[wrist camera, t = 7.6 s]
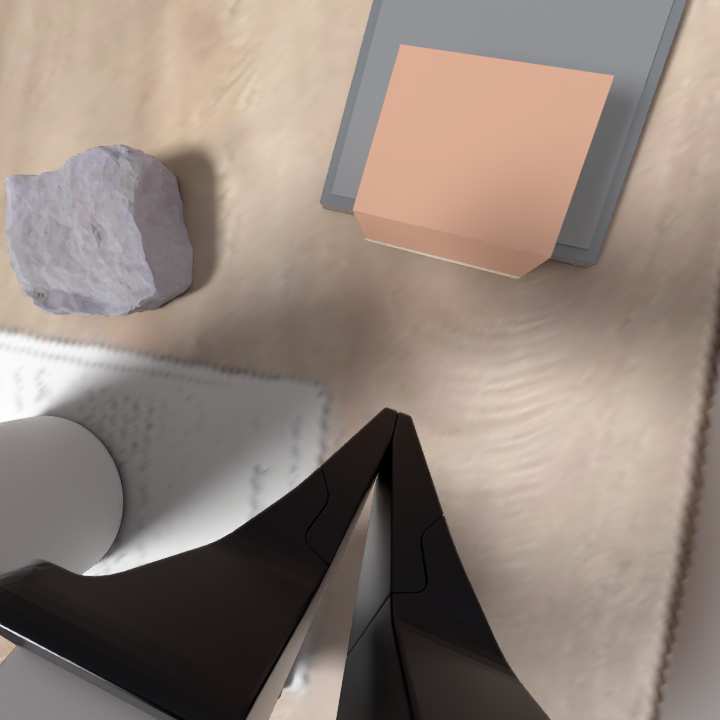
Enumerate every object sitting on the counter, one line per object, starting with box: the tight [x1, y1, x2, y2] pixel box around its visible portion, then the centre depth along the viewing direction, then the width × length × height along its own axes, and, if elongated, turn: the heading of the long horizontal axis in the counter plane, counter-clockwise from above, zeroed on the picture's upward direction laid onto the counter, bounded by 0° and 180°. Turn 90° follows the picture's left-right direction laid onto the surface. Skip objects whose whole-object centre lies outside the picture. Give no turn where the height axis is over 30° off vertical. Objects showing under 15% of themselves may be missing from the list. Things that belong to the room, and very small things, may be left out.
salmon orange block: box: [353, 44, 614, 279], centre depth 15 cm, size 4×9×8 cm
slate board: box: [320, 0, 687, 267], centre depth 17 cm, size 14×16×1 cm
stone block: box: [5, 145, 194, 316], centre depth 21 cm, size 12×5×10 cm
